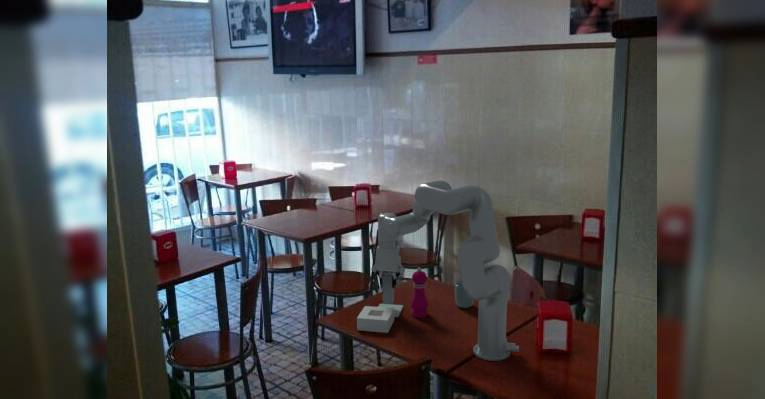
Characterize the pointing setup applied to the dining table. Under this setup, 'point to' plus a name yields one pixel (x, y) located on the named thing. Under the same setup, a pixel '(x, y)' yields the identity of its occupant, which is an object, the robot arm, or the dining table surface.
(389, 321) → the socket block
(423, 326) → the dining table surface
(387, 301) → the steel pin
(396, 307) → the white square plate
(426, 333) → the dining table surface
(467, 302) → the cup
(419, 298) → the pepper mill
